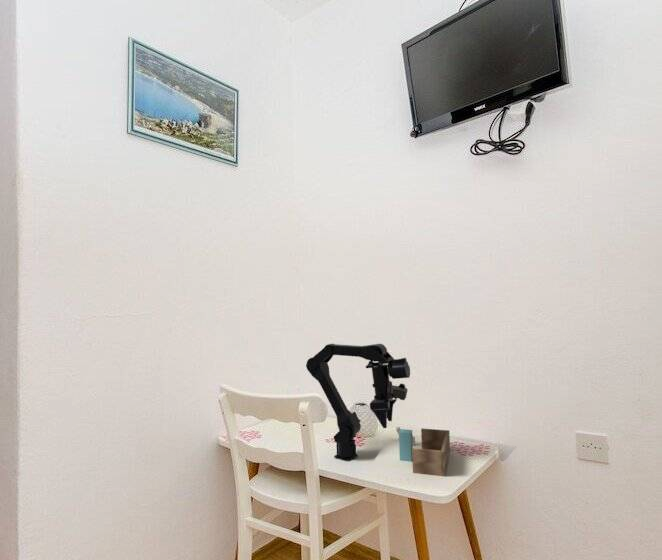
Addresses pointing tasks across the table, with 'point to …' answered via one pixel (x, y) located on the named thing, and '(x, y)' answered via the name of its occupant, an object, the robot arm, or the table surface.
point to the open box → (432, 453)
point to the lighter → (412, 435)
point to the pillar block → (405, 445)
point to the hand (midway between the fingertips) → (387, 424)
